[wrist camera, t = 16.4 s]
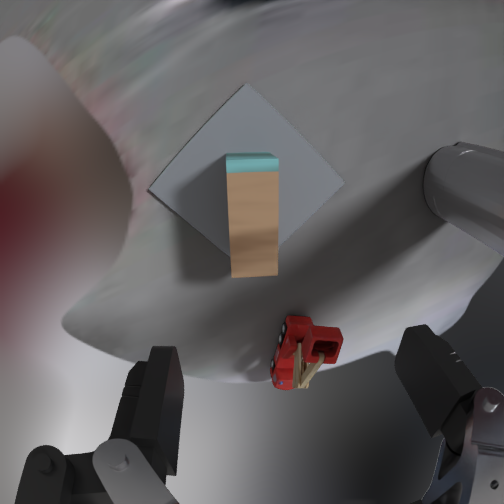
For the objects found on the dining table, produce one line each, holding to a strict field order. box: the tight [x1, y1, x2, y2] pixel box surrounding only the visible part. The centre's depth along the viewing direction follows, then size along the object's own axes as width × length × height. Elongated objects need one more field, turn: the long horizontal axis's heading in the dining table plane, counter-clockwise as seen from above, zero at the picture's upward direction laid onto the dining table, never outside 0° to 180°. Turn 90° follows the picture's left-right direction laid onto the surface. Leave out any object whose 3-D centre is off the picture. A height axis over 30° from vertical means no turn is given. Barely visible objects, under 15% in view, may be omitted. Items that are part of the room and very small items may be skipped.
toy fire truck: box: [270, 315, 343, 390], centre depth 33 cm, size 3×14×10 cm, turn 169°
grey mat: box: [149, 83, 345, 258], centre depth 29 cm, size 14×14×1 cm
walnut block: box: [226, 152, 279, 278], centre depth 27 cm, size 6×4×10 cm
